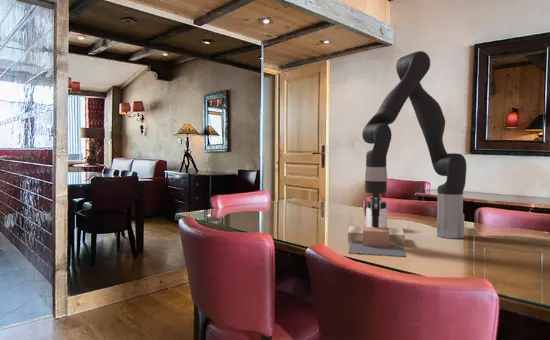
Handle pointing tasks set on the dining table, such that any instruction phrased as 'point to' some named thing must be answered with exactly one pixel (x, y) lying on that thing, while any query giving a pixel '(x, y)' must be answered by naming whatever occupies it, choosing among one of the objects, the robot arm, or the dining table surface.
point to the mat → (377, 249)
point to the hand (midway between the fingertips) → (375, 227)
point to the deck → (394, 236)
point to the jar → (381, 218)
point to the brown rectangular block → (376, 236)
